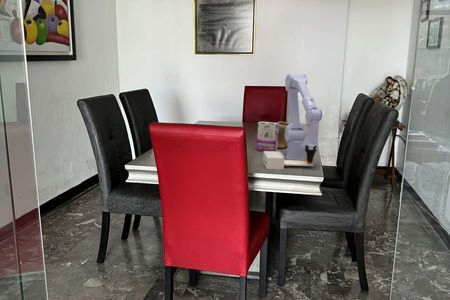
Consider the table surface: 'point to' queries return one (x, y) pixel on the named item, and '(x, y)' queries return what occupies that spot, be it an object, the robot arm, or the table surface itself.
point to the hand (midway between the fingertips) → (309, 161)
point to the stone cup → (282, 135)
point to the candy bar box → (267, 136)
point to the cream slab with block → (297, 163)
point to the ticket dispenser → (273, 160)
